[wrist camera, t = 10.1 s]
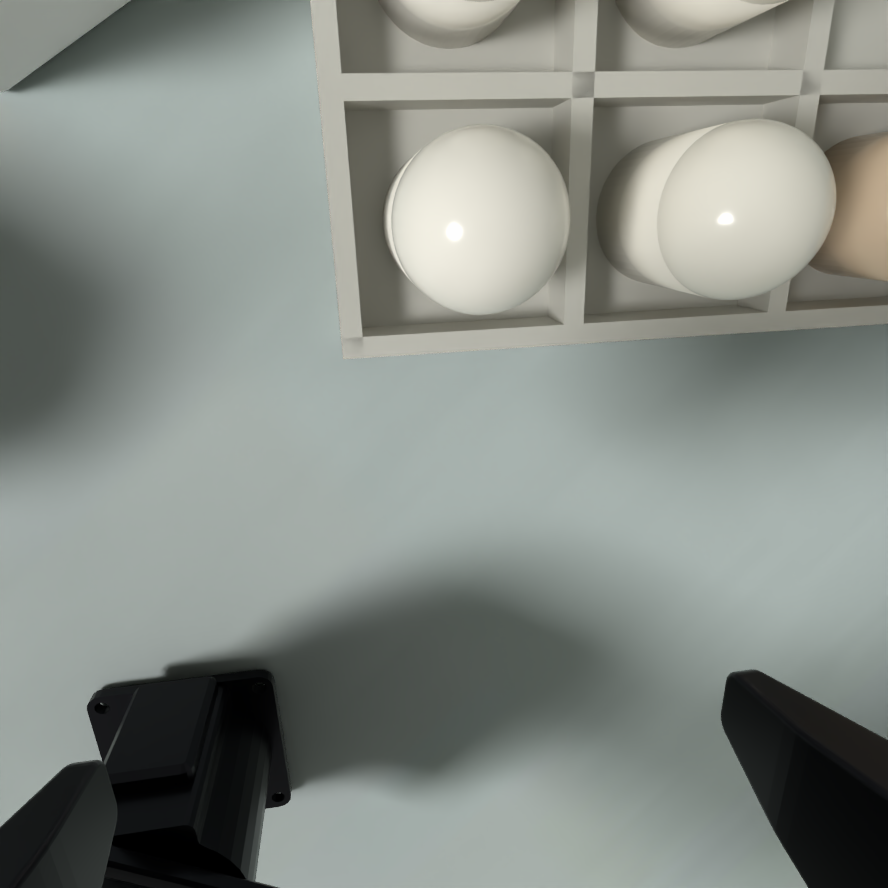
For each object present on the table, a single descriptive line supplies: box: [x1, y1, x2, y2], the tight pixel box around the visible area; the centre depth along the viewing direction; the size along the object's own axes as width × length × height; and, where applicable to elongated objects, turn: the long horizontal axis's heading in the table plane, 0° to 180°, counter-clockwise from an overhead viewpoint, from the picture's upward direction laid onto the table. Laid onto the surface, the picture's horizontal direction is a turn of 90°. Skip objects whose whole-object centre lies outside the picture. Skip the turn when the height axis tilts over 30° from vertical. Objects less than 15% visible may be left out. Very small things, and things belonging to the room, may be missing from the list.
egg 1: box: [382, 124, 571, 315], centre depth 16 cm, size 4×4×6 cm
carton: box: [310, 0, 888, 359], centre depth 18 cm, size 14×20×2 cm
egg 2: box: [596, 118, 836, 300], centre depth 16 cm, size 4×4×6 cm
